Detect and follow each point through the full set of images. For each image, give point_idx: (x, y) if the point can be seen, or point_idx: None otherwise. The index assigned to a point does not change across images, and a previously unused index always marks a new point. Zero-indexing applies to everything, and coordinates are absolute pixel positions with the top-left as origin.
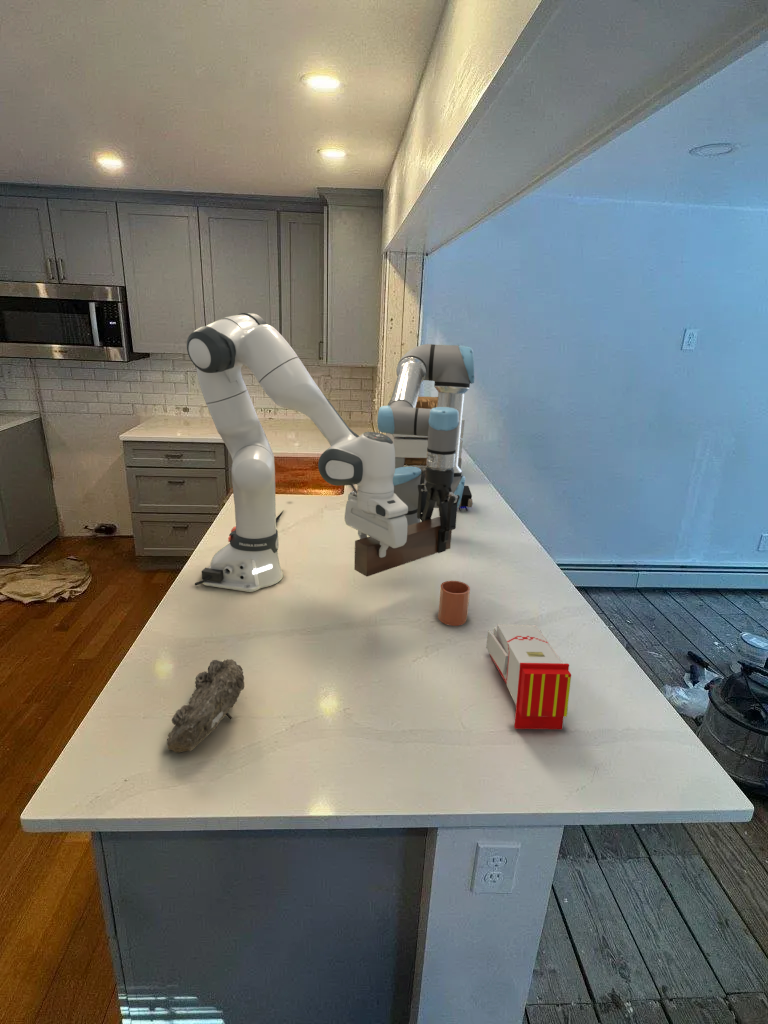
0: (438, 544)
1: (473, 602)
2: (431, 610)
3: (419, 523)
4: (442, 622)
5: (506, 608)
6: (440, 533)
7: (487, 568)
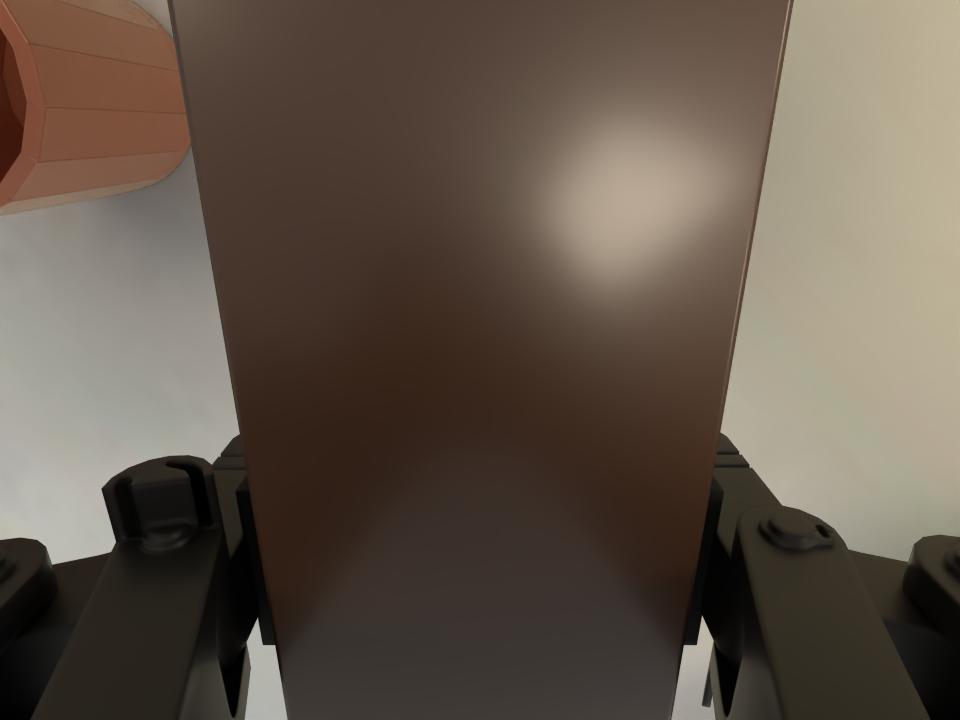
0: None
1: (210, 352)
2: None
3: (672, 285)
4: None
5: (74, 441)
6: None
7: None
